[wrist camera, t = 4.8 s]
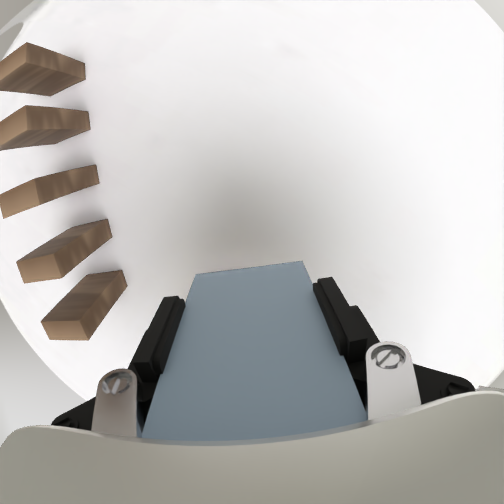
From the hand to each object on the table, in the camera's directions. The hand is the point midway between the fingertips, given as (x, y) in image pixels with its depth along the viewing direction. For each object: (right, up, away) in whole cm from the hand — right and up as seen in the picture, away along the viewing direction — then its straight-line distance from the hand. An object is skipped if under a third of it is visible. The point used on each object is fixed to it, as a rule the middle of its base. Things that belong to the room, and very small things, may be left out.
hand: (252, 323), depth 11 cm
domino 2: (-19, +16, +12) cm, 27 cm away
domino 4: (-17, +5, +16) cm, 24 cm away
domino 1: (-20, +21, +10) cm, 30 cm away
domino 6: (0, +1, +3) cm, 3 cm away
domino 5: (-16, -1, +18) cm, 25 cm away
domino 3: (-18, +10, +14) cm, 25 cm away
